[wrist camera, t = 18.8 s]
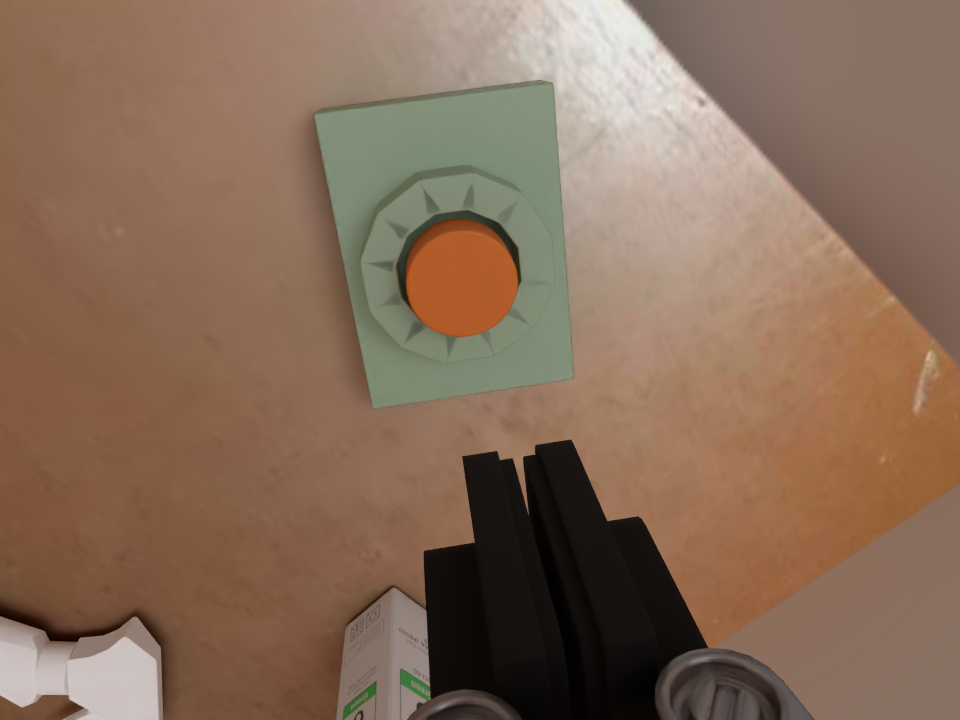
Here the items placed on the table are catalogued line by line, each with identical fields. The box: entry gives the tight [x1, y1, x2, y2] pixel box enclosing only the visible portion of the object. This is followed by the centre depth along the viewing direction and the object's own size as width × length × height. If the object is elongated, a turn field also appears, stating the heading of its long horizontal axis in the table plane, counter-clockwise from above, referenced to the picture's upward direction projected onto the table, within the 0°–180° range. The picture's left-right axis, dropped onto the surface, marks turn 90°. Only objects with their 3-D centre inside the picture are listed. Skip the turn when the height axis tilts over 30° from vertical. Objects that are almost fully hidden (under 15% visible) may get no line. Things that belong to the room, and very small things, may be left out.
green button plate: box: [314, 80, 574, 409], centre depth 26 cm, size 11×8×4 cm
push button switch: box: [406, 218, 518, 337], centre depth 24 cm, size 4×4×2 cm
